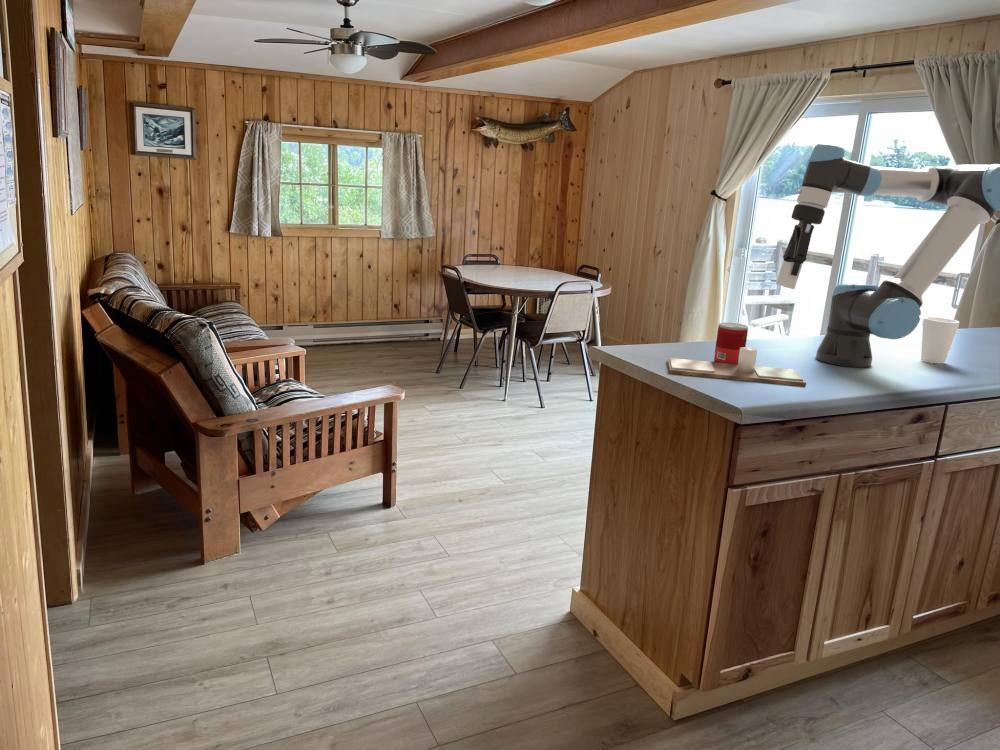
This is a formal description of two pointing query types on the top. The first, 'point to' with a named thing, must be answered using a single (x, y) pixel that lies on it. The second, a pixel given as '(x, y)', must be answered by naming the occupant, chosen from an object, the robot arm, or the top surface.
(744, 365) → the ceramic post
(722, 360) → the canned food
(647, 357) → the top surface
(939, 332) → the foam cup
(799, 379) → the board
